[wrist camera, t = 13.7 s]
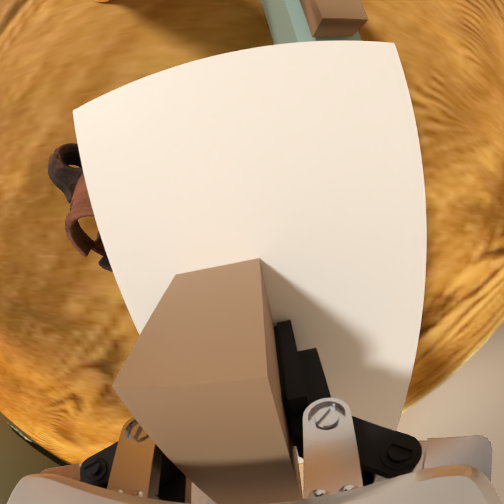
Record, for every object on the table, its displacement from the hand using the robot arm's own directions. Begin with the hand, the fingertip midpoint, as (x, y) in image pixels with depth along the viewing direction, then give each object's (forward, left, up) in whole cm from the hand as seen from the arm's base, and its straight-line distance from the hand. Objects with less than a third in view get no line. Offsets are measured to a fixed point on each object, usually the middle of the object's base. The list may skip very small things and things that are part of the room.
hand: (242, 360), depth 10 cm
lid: (0, -2, -3) cm, 3 cm away
